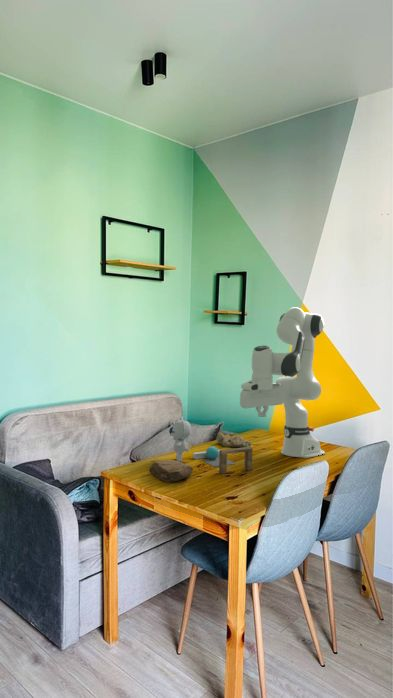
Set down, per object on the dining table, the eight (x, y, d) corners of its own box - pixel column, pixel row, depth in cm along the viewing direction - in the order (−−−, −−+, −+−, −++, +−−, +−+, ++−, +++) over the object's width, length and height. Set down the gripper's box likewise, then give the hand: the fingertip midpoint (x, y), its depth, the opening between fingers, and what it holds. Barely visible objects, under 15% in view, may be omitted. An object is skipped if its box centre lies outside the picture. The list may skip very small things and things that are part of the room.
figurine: (225, 430, 264) (256, 435, 253) (223, 444, 264) (255, 449, 252) (213, 431, 255) (246, 436, 243) (212, 445, 254) (245, 450, 243)
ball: (214, 455, 230) (215, 444, 229) (220, 460, 225) (221, 448, 224) (203, 456, 228) (204, 445, 227) (209, 461, 222) (210, 450, 221)
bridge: (219, 472, 205) (219, 450, 205) (248, 468, 212) (248, 447, 211) (222, 474, 202) (222, 451, 202) (251, 470, 209) (252, 448, 209)
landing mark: (223, 457, 229) (223, 457, 229) (236, 464, 218) (236, 463, 218) (201, 460, 224) (201, 459, 224) (213, 466, 213) (213, 466, 213)
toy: (168, 456, 230) (169, 415, 229) (189, 455, 231) (190, 415, 230) (169, 465, 213) (170, 422, 212) (192, 465, 214) (193, 422, 213)
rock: (201, 467, 198) (180, 469, 185) (198, 484, 197) (177, 487, 185) (165, 455, 209) (143, 456, 197) (162, 471, 208) (140, 473, 196)
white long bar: (221, 454, 235) (222, 449, 235) (224, 455, 232) (224, 450, 232) (193, 457, 228) (193, 452, 228) (195, 459, 225) (195, 453, 225)
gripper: (278, 381, 206) (277, 413, 207) (237, 385, 197) (237, 417, 198) (286, 383, 201) (286, 415, 201) (245, 386, 192) (245, 420, 192)
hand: (262, 416), depth 200 cm, fingers closed
